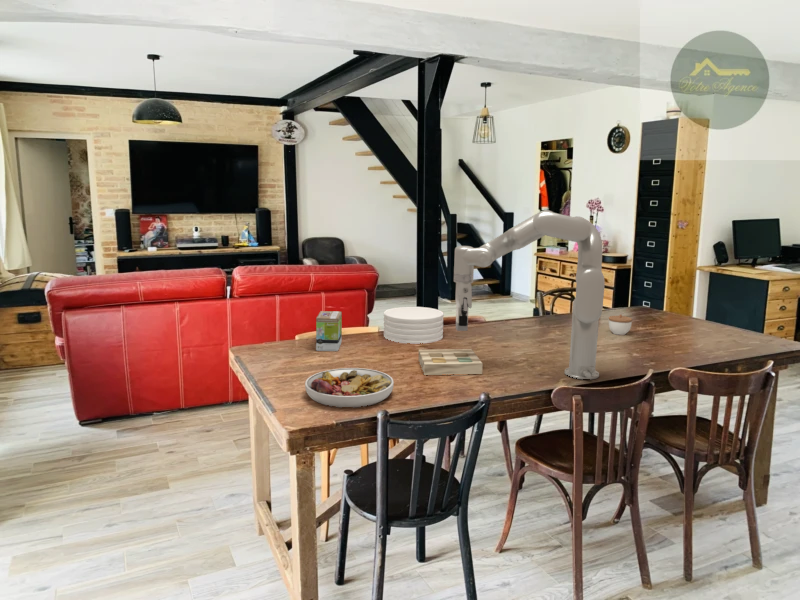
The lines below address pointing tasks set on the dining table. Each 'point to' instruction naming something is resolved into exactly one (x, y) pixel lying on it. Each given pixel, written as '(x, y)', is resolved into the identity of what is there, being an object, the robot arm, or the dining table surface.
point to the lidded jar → (620, 324)
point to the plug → (458, 328)
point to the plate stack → (413, 325)
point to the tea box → (328, 331)
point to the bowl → (349, 387)
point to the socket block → (449, 362)
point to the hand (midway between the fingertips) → (461, 323)
